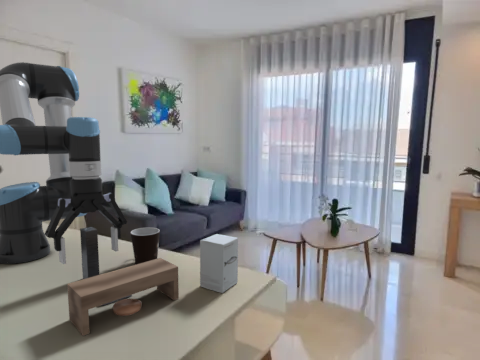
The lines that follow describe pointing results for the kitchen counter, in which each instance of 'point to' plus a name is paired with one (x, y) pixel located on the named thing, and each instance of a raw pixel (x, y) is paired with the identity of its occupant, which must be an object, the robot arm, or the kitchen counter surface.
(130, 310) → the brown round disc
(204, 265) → the supplement box
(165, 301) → the kitchen counter surface
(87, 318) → the bench
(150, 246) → the coffee mug
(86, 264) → the dark gray angled bracket
